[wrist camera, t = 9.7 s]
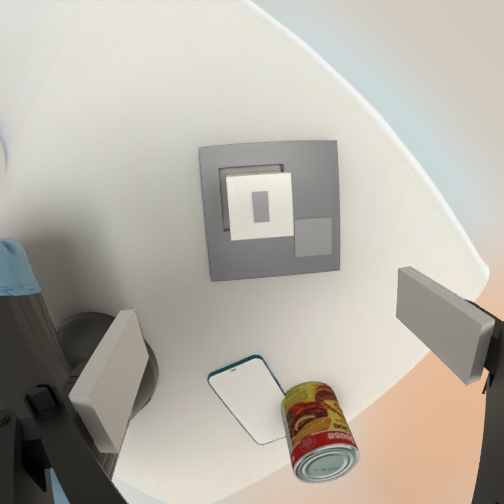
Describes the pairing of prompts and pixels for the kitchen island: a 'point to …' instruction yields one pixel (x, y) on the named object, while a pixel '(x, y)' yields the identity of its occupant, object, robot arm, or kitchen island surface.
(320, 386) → the canned food
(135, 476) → the kitchen island surface
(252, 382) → the smartphone
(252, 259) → the grey square base plate
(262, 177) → the block
